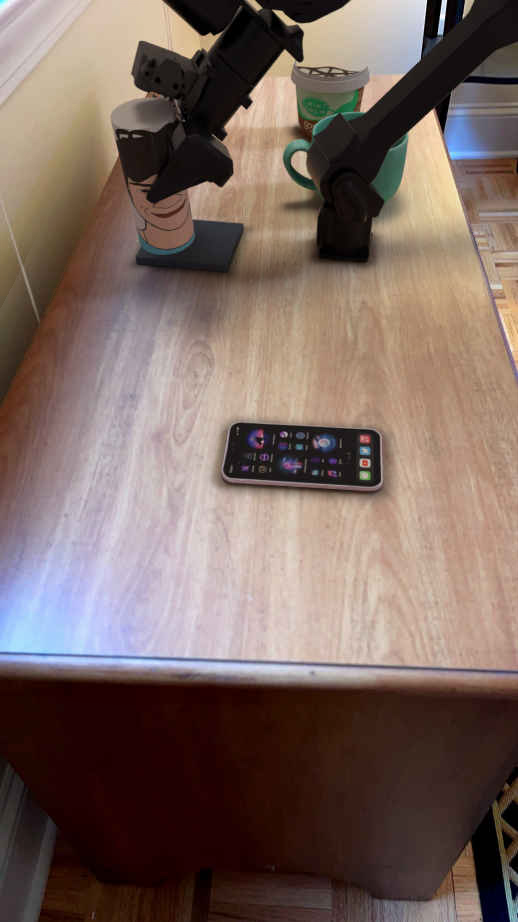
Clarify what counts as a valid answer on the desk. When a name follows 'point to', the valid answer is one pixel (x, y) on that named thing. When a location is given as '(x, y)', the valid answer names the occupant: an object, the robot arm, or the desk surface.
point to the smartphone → (303, 456)
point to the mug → (383, 182)
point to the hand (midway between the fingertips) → (145, 185)
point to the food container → (326, 93)
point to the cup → (151, 174)
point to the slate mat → (201, 248)
